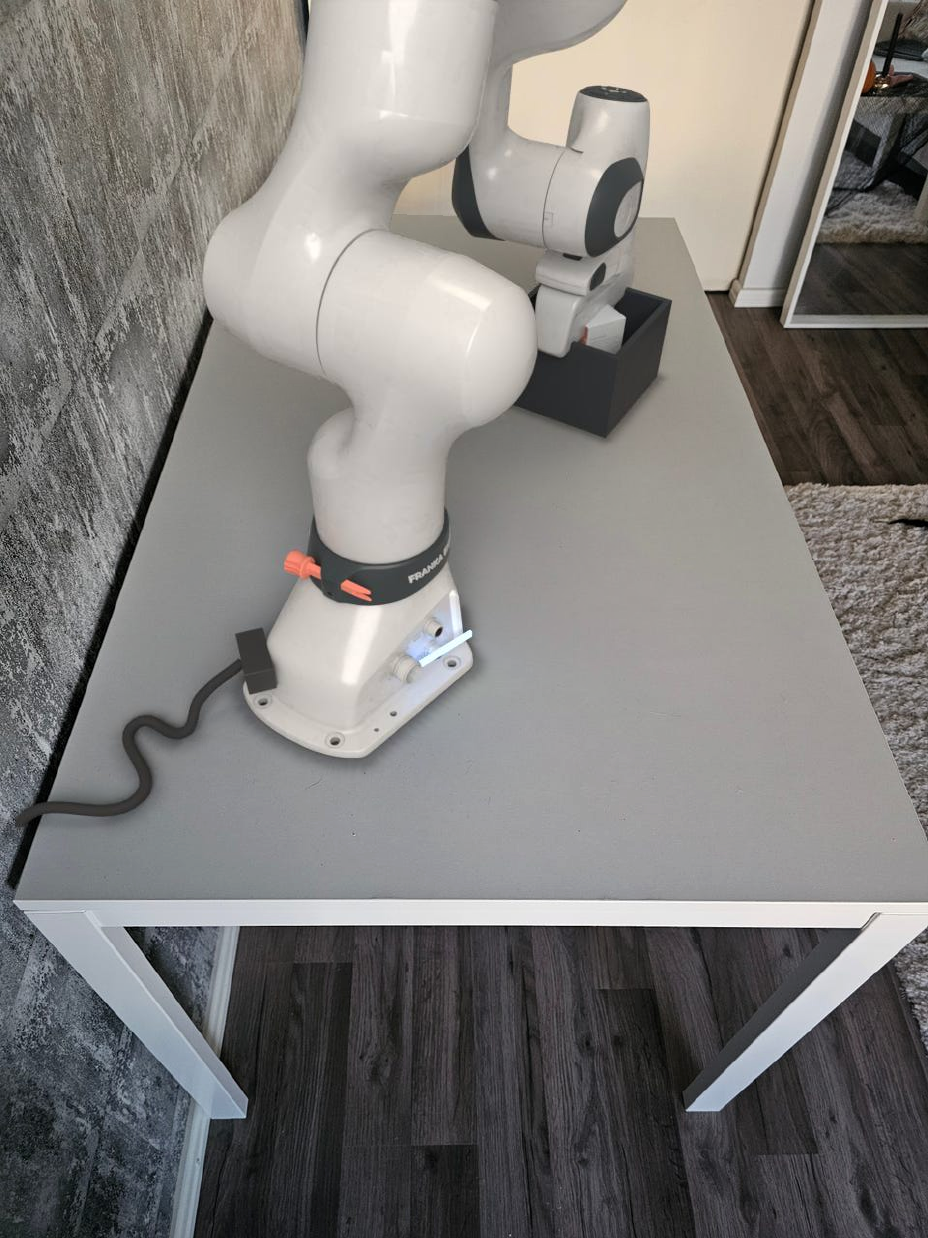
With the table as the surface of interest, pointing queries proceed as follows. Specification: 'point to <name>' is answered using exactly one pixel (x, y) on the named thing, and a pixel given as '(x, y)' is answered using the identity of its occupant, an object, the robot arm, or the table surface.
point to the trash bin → (601, 369)
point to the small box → (605, 330)
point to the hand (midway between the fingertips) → (581, 353)
